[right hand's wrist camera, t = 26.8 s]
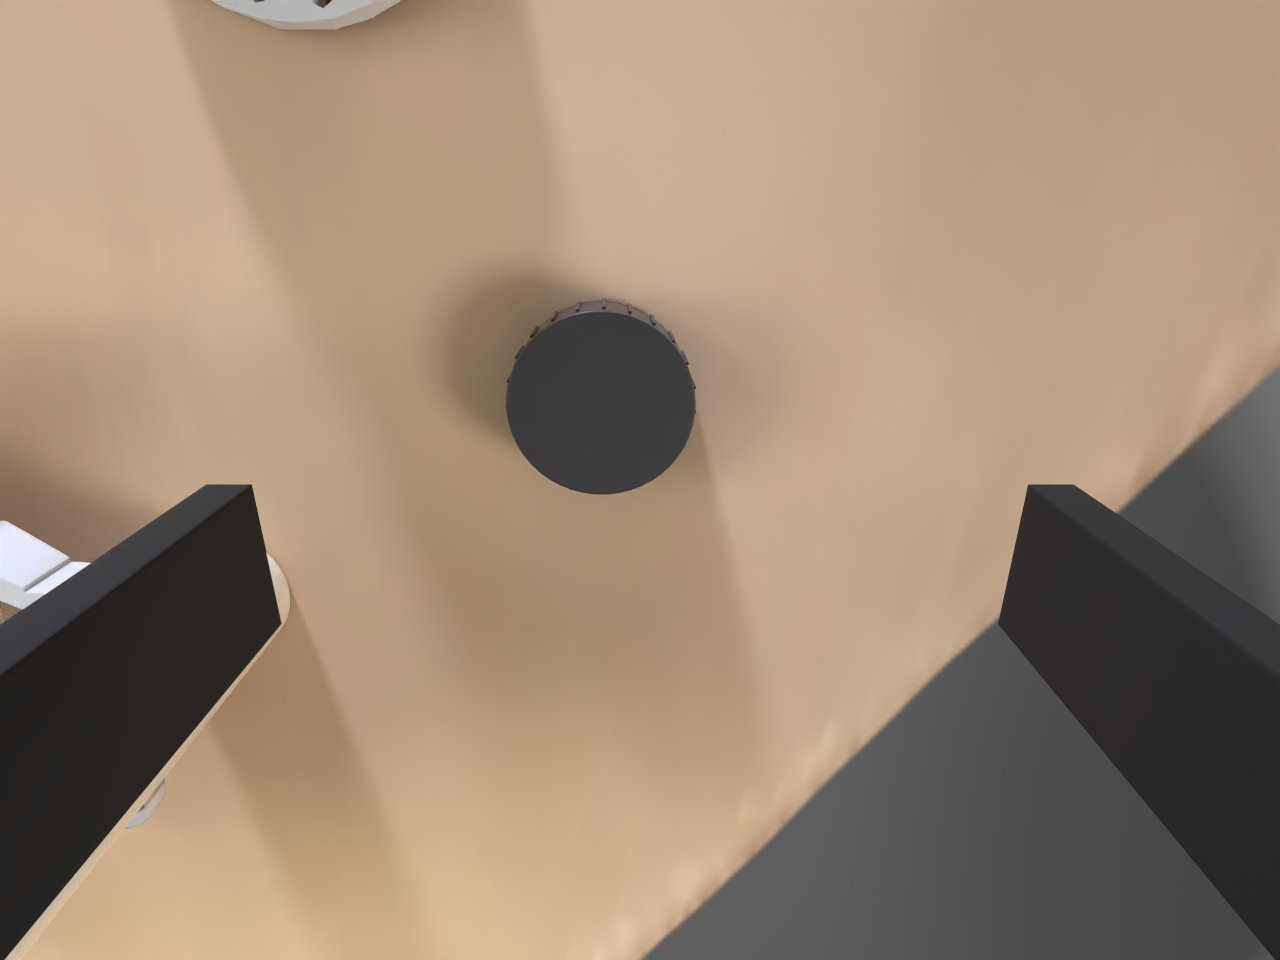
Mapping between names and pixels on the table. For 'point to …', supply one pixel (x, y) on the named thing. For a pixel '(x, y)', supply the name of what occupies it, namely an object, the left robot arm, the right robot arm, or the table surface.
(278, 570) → the white bottle
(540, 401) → the lid
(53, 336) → the table surface
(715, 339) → the table surface
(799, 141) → the table surface
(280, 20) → the mechanical component
